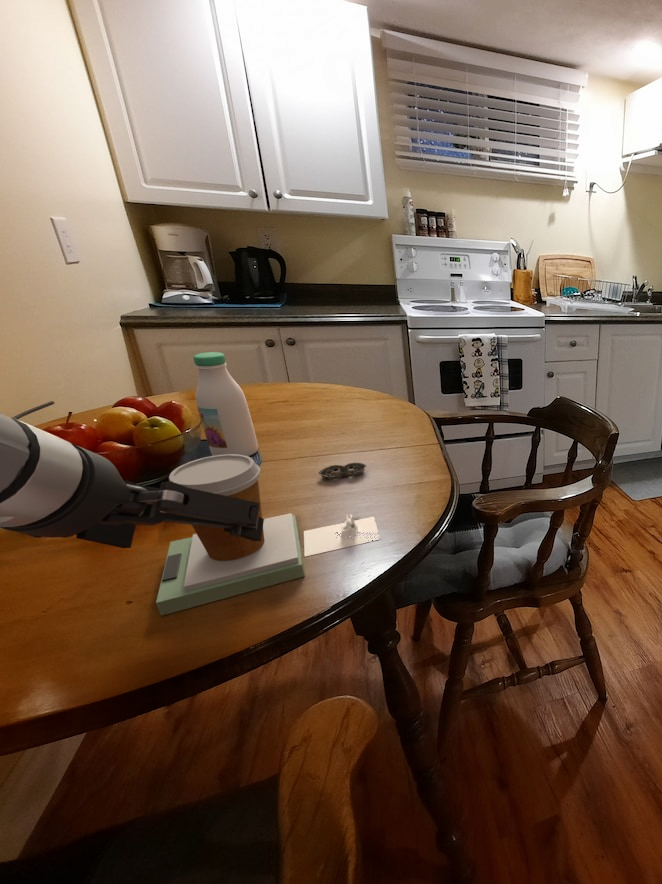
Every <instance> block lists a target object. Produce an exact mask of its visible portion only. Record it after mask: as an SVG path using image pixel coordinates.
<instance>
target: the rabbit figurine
mask: <svg viewBox="0 0 662 884" xmlns="http://www.w3.org/2000/svg"><path fill="white" fill-rule="evenodd" d="M349 516H350V517H349ZM345 519H346V520H344V522H343V523H344V525H342V526H341V527H340V533H341V534H340V536H341V537H340V539H341V540H342V539H345V537H346V538H348V537H349V536H351V538H352V537H353V538H354V537H355V536H356V533H357V531H359V527H358V525H357V523H356V522H355V519H354V516H353V514H351V513H349V514H348V513H345Z"/></svg>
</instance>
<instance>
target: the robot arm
mask: <svg viewBox="0 0 662 884" xmlns="http://www.w3.org/2000/svg"><path fill="white" fill-rule="evenodd" d="M52 405H55V401H53V400H51V401H49V402H45V403H43V404H41V405H38V406H36V407H32V408H30V409H28V410H25V411H23V412H21V413H19V414H17V415H15V416H13V417H10V416H8V415H5V414H2V413H0V528H1V529H4V530H6V531H7V530H8V531H13V532H18V533H22V534H25V535H27V536H29V537H32V538H34V539H35V538H36V539H39V538H40V539H41V538H62V539H63V538H64V539H67V538H73V537H74V536H76V537H75V538H76V539H79V540H83V541H87V542H92V543H97V544H101V545H106V546H111V547H116V548H120V549H131V547H132V543H133V539H134V535H135V532H136V527H137V525H138V526H139V525H142V526H149V527H151V526H152V527H153V526H156V525H158V524H161V523H163V522H164V523H174V524H181V525H182V524H183V525H191V524H192V525H201V526H211V527H221V528H224V531H225V532H228V533H231V534H230V536H240V537H243V538H246V539H248V540H251V541H261V536H262V529H263V523H264V519H265V518H263V517H262V518H261V517H259V516H258V513H259V506H260V503H257V502H252V501H247V500H243V499H238V498H234V497H229V496H224V495H220V494H215V493H210V492H206V491H201V490H196V489H192V488H188V487H186V486H183V485H180V484H177V483H174V482H170V481H169V480H168V481H162V482H161V483H160V486H159V487H153V486H146V485H139V484H136V483H135V482H134V481H130V480H124V479H123V477H122V476H121V474H120V472H119V470H118V469H117V467H116V466H115V464H113V462H111V460H109V459H107V458H106V457H104V456H102V455H100V454H98V453H96V452H93V451H91V450H88V449H86V448H84V447H81V446H79V445H76V444H74V443H71V442H70V441H67V440H66V439H63V438H61V437H59V436H57V435H54V434H52V433H49V432H48V431H45V430H42V429H40V428H38V427H35V426H34V425H31V424H29V423H27V422H24V421H22V420H20V419H21V418H23V417H25V416H28V415H30V414H32V413H35V412H38V411H40V410H42V409H45V408H48V407H51V406H52ZM148 505H151V508H150V509H151V510H150V513H149V516H142V515H144V512H145V510H146V509H147V506H148ZM192 525H191V526H192Z"/></svg>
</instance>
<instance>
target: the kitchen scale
mask: <svg viewBox="0 0 662 884" xmlns="http://www.w3.org/2000/svg"><path fill="white" fill-rule="evenodd" d="M263 519H264V523H263V531H264V540H265V541H264V544H263V545H262V546H261V547H260V548H259V549H258V550H257V551H255V552H253V553H252V554H250V555H247V556H245V557H242V558H239V559H235V560H228V561H218V560H213V559H211V558H210V557H209V555H208V553H207V551H206V550H205V548H204V546H203V544H202V542H201V541H200V539H199V537H198V535H197V533H193V534H192V536H191V537H186V538H181V539H177V540H173V541H170V542H169V546H168V550H167V555H166V558H165V563H164V567H163V571H162V577H161V579H160V584H159V588H158V592H157V596H156V600H155V605H156V607H157V610H158V612H159V614H160V616H161V617H162V616H165V615H169V614H173V613H177V612H180V611H184V610H187V609H192V608H195V607H198V606H203V605H206V604H209V603H213V602H216V601H221V600H224V599H227V598H230V597H231V598H232V597H235V596H238V595H242V594H246V593H249V592H253V591H257V590H260V589H263V588H267V587H271V586H275V585H278V584H282V583H285V582H290V581H292V580H296V579H300V578H304V577H305V576H306V575H305V567H304V561H303V554H302V548H301V546H302V545H301V541H300V535H299V534H300V533H299V526H298V522H297V518H296V514H293V513H292V512H290V513H285V514H280V515H277V516H272V517H267V518H263Z"/></svg>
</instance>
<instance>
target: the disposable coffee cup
mask: <svg viewBox="0 0 662 884" xmlns="http://www.w3.org/2000/svg"><path fill="white" fill-rule="evenodd" d="M260 474H261V467H260V465H258V464H256V462H255V461H254V459H253V457H250V456H245V455H239V454H224V455H215V456H212V455H209V456H206V457H202V458H198V459H194V460H191V461H189V462H186V463H184V464H181V465H180V466H178V467H176V468H175V469H173V470H172V471H171V472H170V473H169V476H168V481H170V482H174V483H177V484H180V485H183V486H186V487H188V488H192V489H196V490H201V491H206V492H210V493H215V494H220V495H224V496H229V497H234V498H238V499H243V500H247V501H252V502H257V503H260V506H259V513H258V516H259V517H261V518H263V513H262V501H261V494H260V484H259V479H260ZM190 525H191V527H192V528H193V530H194V532H195V534H197V535H198V537H199V539H200V541H201V542H202V544H203V546H204V548H205V550H206V551H207V553H208V555H209V557H210V558H211V559H213V560H218V561H228V560H235V559H239V558H242V557H245V556H247V555H250V554H252V553H253V552H255V551H257V550H258V549H259V548H260V547H261V546H262V545H263V544H264V541H265V540H264V531H263V529H262V536H261V541H251V540H248V539H246V538H243V537H240V536H230V534H231V533H228V532H225V531H224V528H221V527H211V526H201V525H192V524H190Z"/></svg>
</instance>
